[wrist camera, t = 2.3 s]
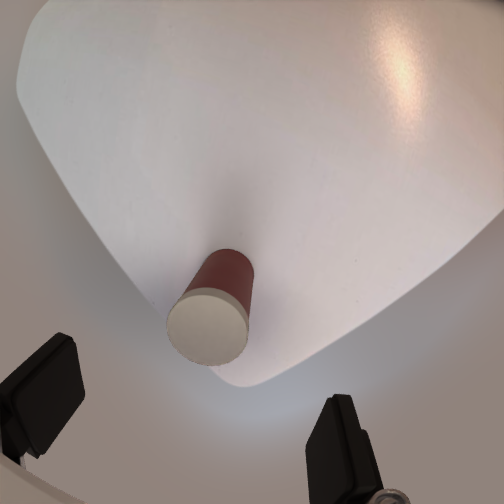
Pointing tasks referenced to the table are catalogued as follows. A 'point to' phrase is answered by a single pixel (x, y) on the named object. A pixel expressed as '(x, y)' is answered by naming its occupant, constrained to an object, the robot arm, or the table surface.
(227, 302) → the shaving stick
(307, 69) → the table surface
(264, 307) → the table surface
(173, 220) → the table surface
